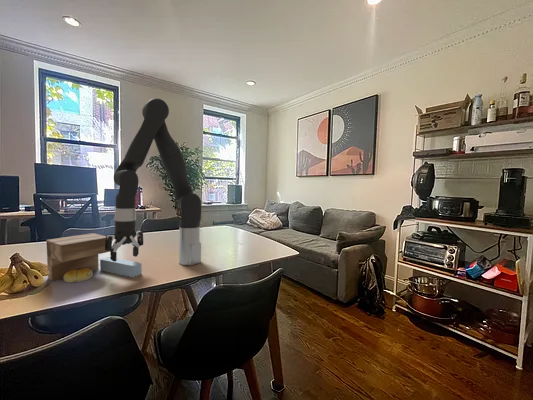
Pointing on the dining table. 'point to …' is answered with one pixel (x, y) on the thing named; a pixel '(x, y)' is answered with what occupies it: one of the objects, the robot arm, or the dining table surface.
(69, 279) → the bread roll
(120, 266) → the batten
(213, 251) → the dining table surface
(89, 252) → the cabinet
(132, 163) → the robot arm
